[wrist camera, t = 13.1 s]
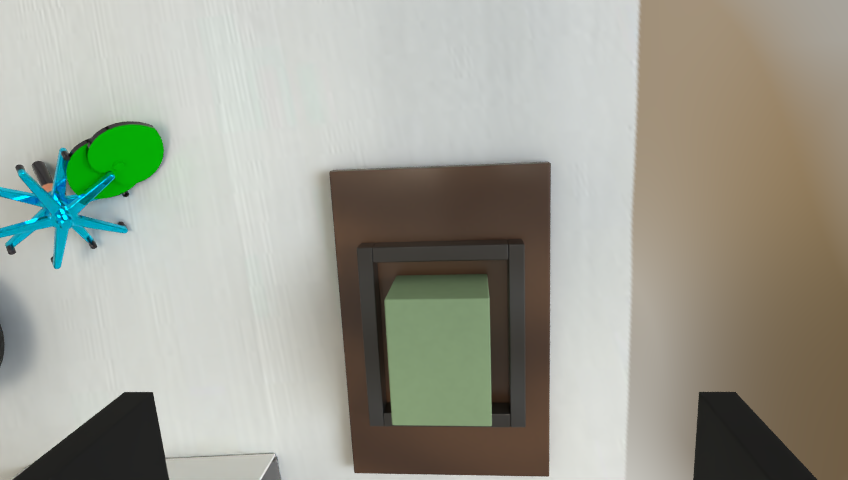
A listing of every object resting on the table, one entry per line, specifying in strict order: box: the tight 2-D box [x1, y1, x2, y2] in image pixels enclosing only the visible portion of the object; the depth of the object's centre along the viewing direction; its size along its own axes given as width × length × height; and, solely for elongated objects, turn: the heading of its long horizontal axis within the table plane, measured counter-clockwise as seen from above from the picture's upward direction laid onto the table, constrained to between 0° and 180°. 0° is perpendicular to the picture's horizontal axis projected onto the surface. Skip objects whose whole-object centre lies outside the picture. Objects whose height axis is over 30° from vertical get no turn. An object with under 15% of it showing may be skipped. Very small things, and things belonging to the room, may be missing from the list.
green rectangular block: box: [384, 274, 492, 426], centre depth 33 cm, size 8×6×5 cm
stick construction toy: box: [0, 122, 164, 269], centre depth 35 cm, size 12×7×8 cm
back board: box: [330, 162, 551, 476], centre depth 35 cm, size 22×14×2 cm, turn 3°
